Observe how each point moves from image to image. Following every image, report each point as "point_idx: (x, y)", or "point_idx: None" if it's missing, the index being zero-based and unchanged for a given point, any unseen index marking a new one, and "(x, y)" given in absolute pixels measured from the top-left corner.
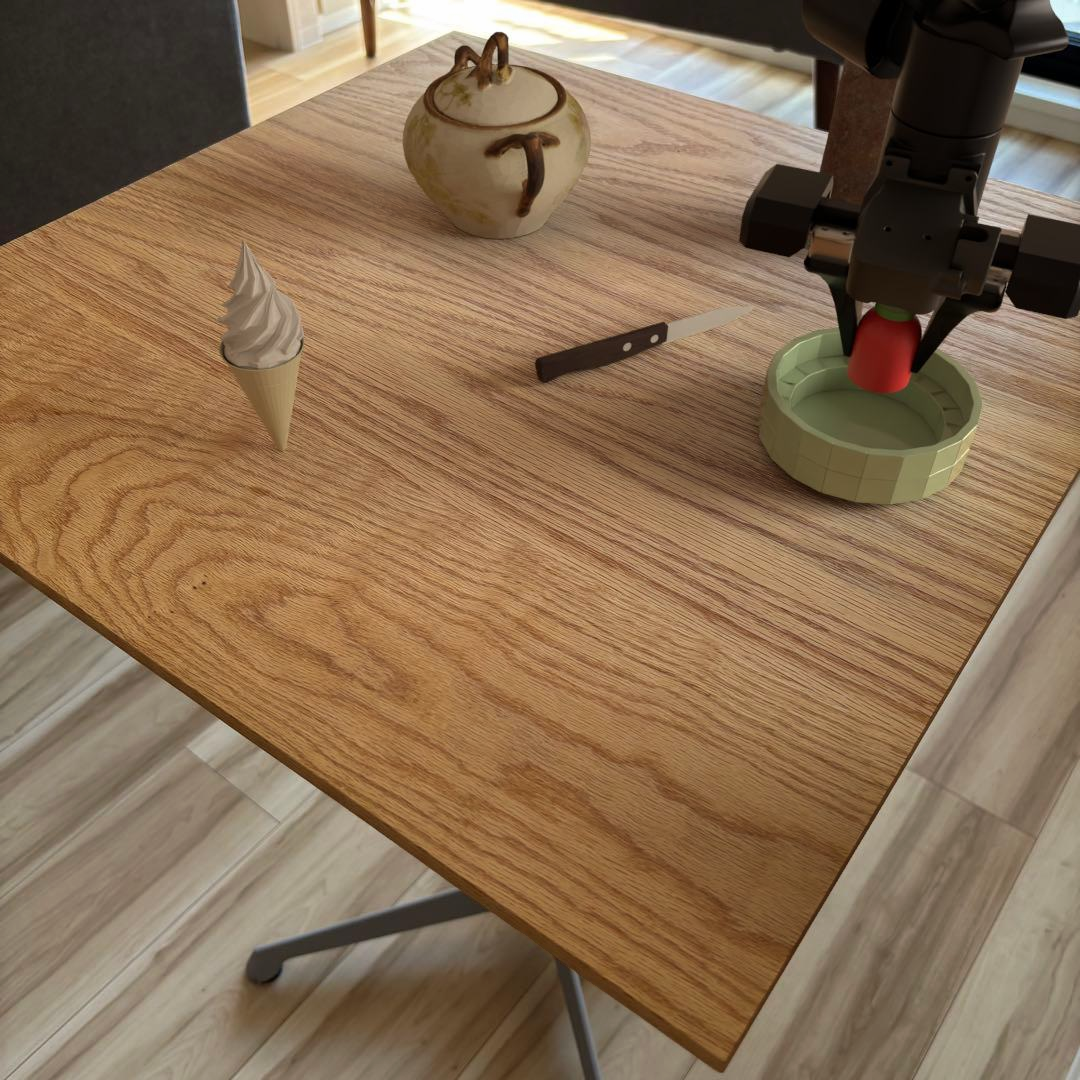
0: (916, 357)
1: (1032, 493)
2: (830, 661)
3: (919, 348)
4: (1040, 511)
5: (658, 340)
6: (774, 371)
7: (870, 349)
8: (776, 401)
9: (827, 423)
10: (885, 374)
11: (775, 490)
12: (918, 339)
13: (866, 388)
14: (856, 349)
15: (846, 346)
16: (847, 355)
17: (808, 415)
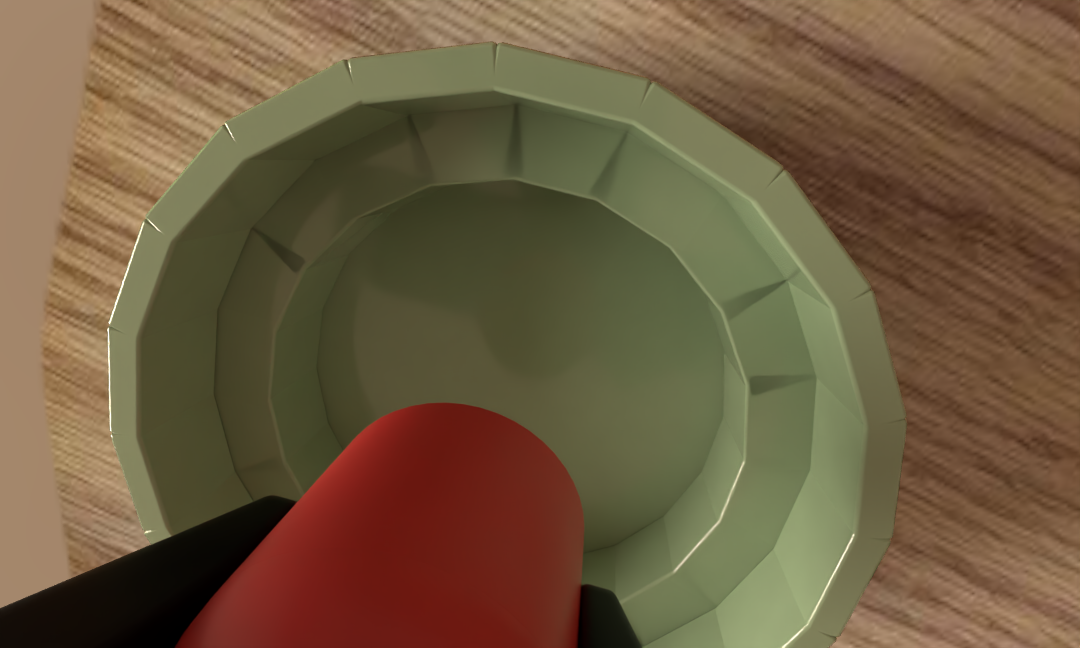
0: (225, 552)
1: (101, 250)
2: None
3: (167, 598)
4: (75, 184)
5: None
6: (862, 535)
7: (483, 582)
8: (885, 348)
9: (602, 424)
10: (407, 452)
11: (764, 133)
12: None
13: (502, 420)
14: (564, 604)
15: (614, 634)
16: (597, 589)
17: (653, 451)
